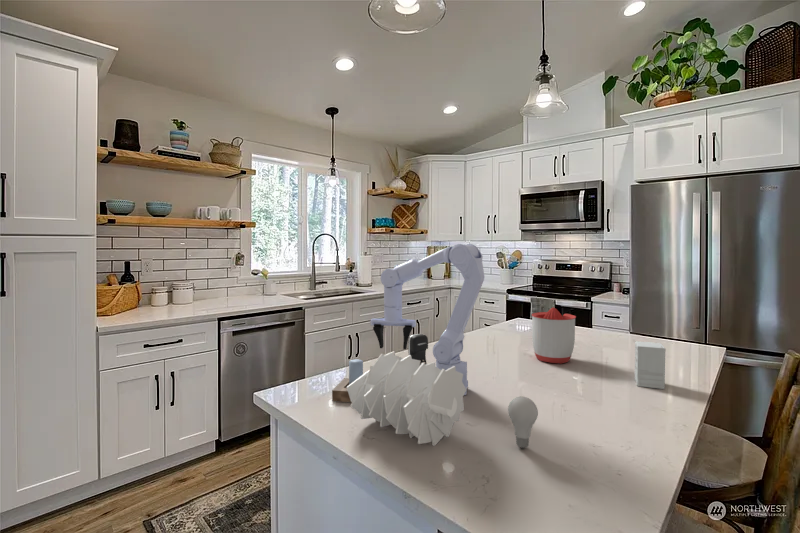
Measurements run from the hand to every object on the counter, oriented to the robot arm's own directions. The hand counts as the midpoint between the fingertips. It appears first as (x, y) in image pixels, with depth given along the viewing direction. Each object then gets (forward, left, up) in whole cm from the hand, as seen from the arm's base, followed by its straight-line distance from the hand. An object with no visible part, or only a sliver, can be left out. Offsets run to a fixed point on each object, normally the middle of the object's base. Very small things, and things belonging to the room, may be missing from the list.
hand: (393, 348), depth 130 cm
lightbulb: (-36, +38, -11) cm, 53 cm away
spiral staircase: (-11, +35, -11) cm, 38 cm away
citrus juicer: (-55, -34, -11) cm, 66 cm away
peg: (+8, +15, -10) cm, 20 cm away
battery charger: (-6, -16, -11) cm, 20 cm away
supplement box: (-79, -10, -11) cm, 80 cm away
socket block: (+8, +15, -10) cm, 20 cm away
